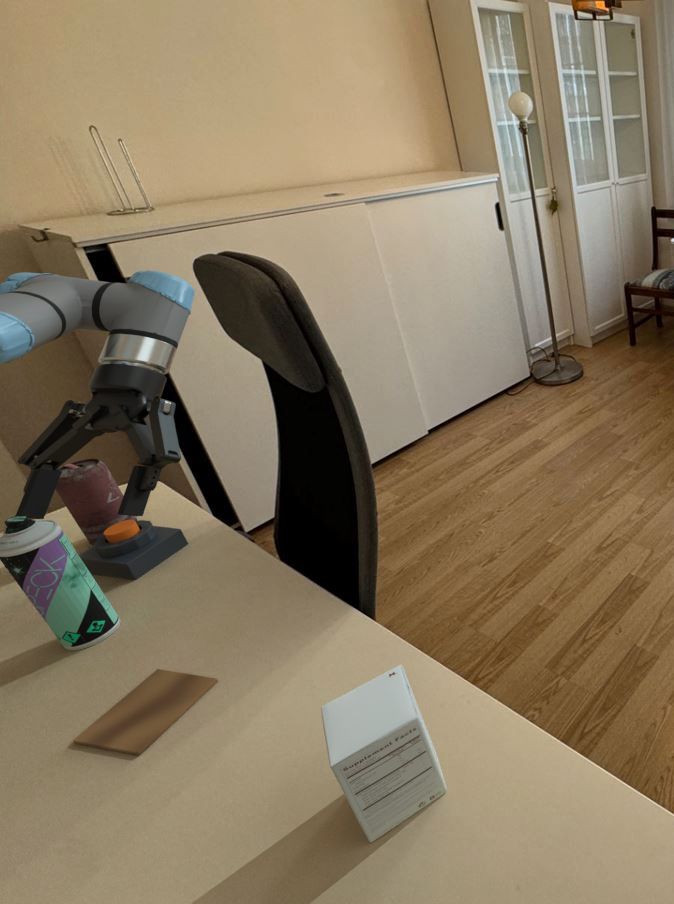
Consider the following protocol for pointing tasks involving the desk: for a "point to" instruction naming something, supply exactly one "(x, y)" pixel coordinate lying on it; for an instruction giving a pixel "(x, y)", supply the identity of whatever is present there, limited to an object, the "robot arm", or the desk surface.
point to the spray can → (57, 582)
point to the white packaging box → (382, 752)
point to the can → (91, 497)
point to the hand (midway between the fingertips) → (79, 517)
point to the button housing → (133, 551)
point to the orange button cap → (121, 531)
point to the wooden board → (146, 712)
